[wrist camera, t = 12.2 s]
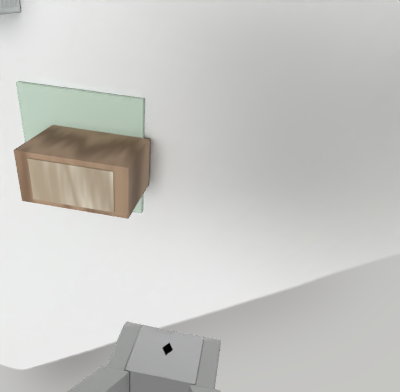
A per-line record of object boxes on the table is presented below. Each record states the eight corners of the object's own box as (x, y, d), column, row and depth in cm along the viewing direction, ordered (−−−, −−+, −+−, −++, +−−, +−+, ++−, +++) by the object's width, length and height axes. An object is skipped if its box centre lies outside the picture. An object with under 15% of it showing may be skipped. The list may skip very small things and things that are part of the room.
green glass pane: (144, 98, 42) (143, 99, 42) (142, 210, 50) (141, 213, 49) (18, 81, 44) (16, 82, 43) (35, 193, 51) (33, 195, 51)
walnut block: (127, 168, 37) (12, 150, 38) (127, 219, 40) (21, 201, 41) (150, 139, 44) (52, 124, 45) (148, 184, 47) (57, 169, 48)
